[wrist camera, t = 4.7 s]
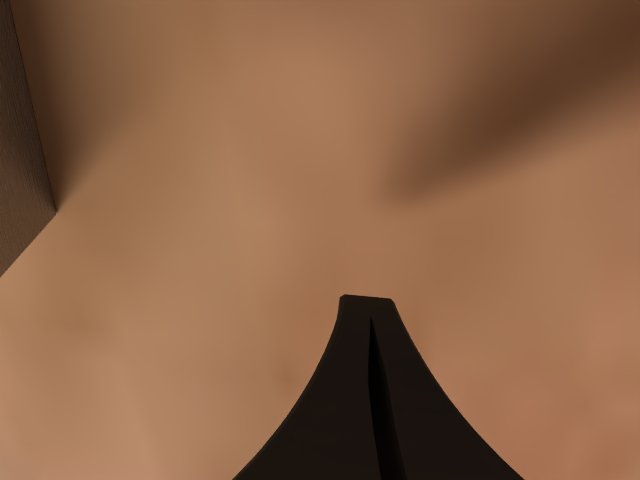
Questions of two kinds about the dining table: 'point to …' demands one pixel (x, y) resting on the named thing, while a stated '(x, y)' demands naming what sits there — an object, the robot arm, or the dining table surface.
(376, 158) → the dining table surface
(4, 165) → the pair of rectangular slabs
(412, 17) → the dining table surface
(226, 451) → the dining table surface
